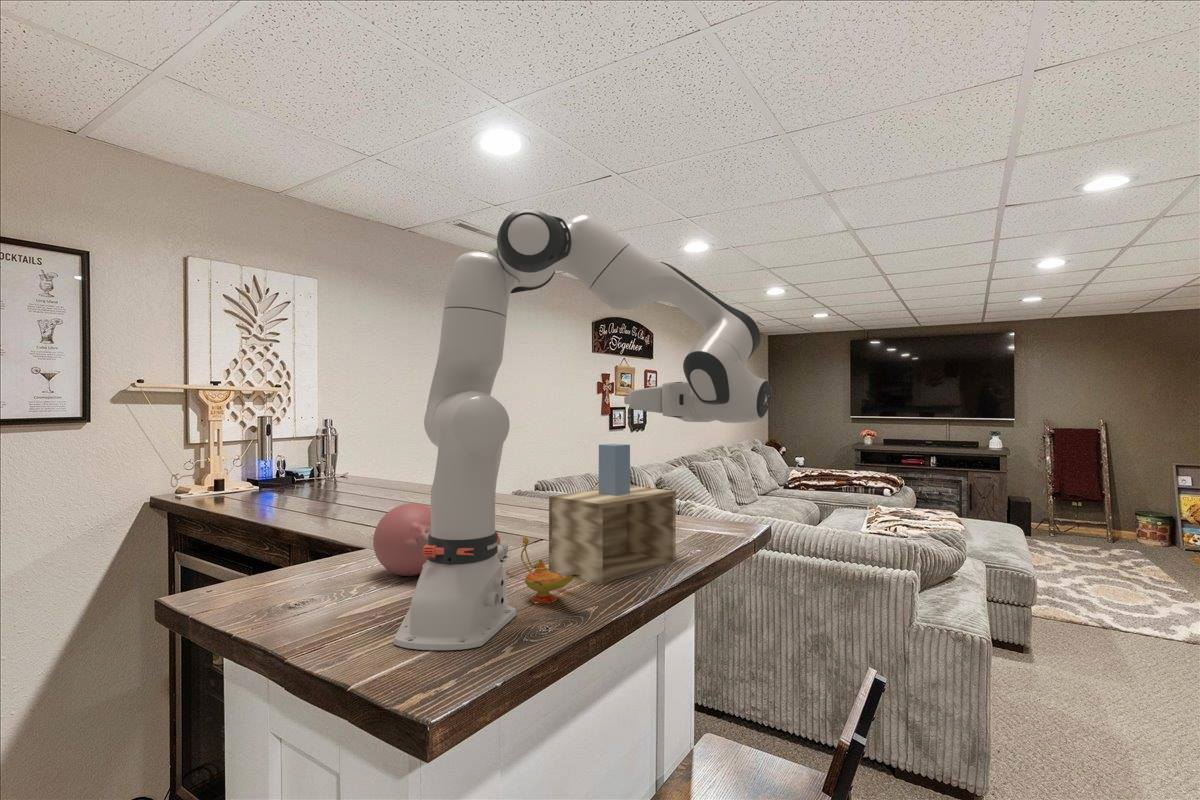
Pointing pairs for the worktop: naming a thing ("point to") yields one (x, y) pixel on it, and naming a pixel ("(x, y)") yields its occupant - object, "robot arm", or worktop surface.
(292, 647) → the worktop surface
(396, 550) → the pink ball
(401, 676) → the worktop surface
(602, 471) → the slate block
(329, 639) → the worktop surface
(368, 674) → the worktop surface
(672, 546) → the birch cubby
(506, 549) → the multicolored small figure
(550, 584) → the magic lamp
